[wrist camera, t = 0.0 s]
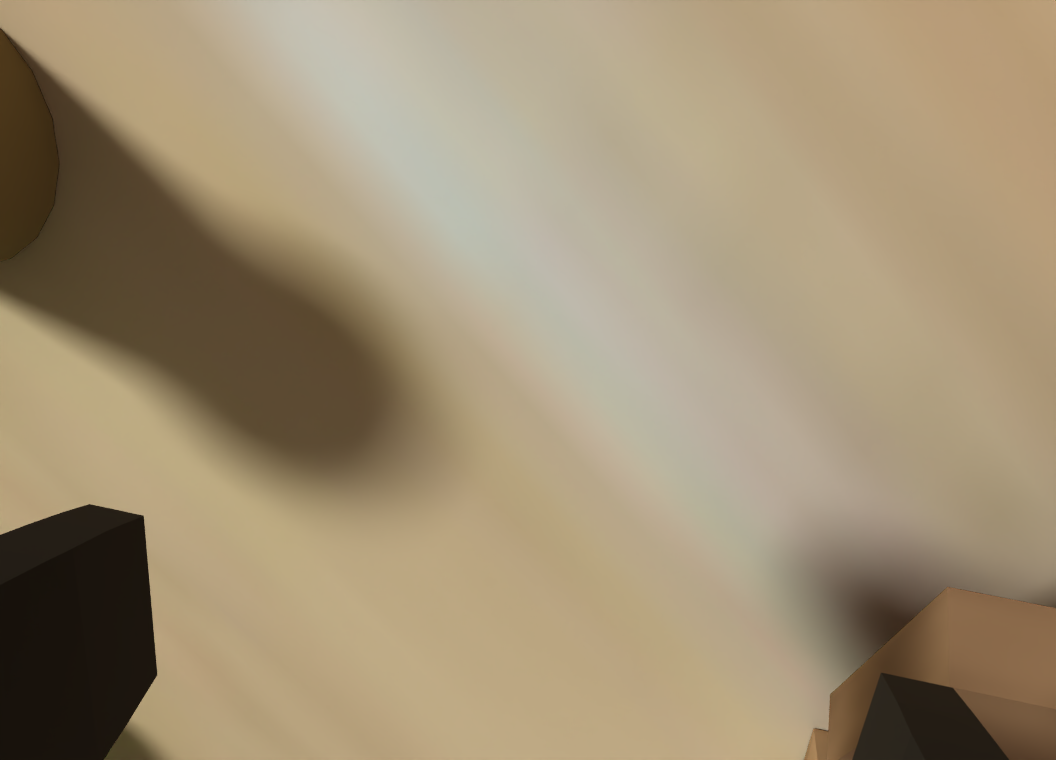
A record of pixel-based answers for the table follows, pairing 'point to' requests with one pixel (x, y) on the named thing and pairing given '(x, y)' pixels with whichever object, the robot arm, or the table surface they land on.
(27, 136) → the olive tapered tower
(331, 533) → the table surface
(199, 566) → the table surface
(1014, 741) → the loose plank
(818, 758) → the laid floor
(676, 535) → the table surface
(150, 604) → the robot arm
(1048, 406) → the table surface
